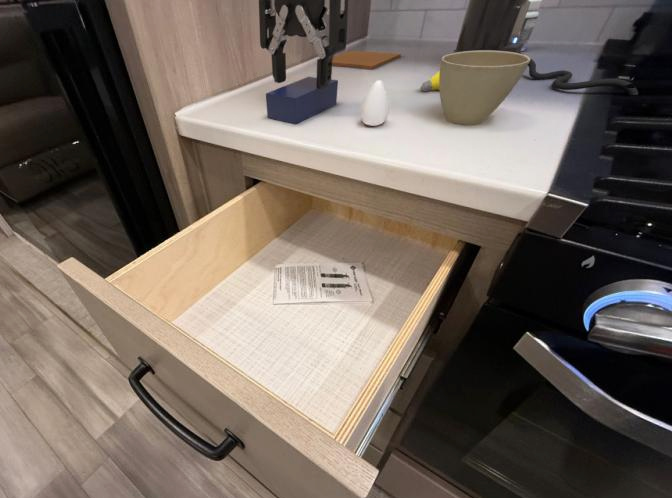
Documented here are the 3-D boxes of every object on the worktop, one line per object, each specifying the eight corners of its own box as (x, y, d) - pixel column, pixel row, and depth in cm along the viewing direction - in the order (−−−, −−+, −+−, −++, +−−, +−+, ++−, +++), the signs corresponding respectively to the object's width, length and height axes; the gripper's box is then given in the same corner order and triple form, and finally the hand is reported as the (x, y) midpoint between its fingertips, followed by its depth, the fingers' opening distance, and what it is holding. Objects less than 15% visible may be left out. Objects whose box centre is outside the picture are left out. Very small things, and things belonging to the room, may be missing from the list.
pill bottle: (495, 50, 74) (512, 0, 68) (512, 47, 74) (531, -3, 68) (512, 53, 70) (531, 1, 64) (529, 50, 71) (550, -2, 65)
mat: (400, 56, 76) (401, 53, 75) (372, 69, 70) (372, 65, 69) (349, 53, 83) (349, 50, 82) (319, 64, 77) (319, 61, 76)
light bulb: (459, 89, 55) (464, 68, 52) (423, 103, 56) (426, 84, 53) (451, 78, 57) (454, 57, 54) (416, 92, 58) (418, 72, 55)
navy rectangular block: (308, 99, 58) (308, 76, 55) (336, 104, 55) (338, 80, 52) (267, 117, 52) (265, 93, 50) (295, 124, 49) (295, 98, 47)
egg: (387, 120, 48) (394, 76, 44) (384, 129, 45) (392, 83, 41) (361, 119, 49) (366, 76, 45) (357, 128, 46) (362, 83, 42)
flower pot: (514, 131, 42) (543, 64, 36) (431, 132, 43) (448, 67, 38) (493, 107, 48) (516, 47, 43) (423, 108, 50) (436, 51, 45)
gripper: (368, -78, 38) (351, 84, 49) (277, -65, 45) (282, 75, 56) (331, -79, 34) (322, 97, 46) (238, -64, 41) (252, 85, 53)
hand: (300, 84), depth 51 cm, fingers open, 8 cm apart
